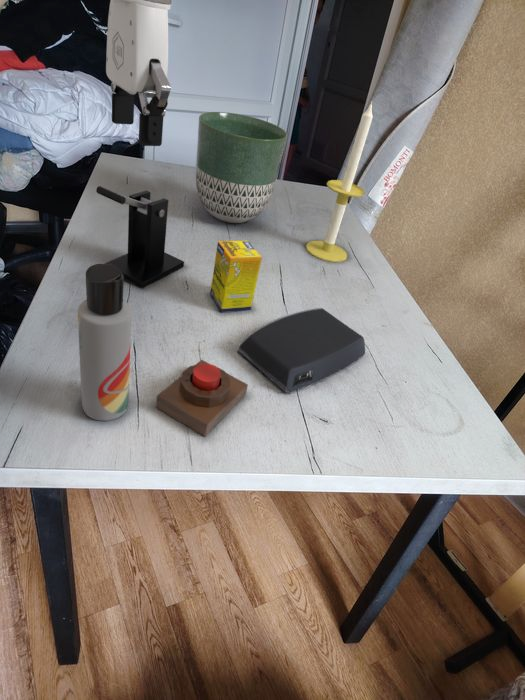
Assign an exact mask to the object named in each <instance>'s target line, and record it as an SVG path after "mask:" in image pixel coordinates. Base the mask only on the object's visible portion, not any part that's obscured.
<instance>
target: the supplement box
mask: <svg viewBox="0 0 525 700" xmlns="http://www.w3.org/2000/svg"><path fill="white" fill-rule="evenodd" d="M216 245H217V246H216V250H215V251H216V252H215V259H214V265H213V272H212V278H211V285H210V291H209V295H210V296H211V298H212V299H213V301H214V302H215V304H216V306H217V307H218V310H219V311H220V313H233V312H241V311H243V312H244V311H251V310H252V305H253V301H254V295H255V291H256V287H257V283H258V277H259V273H260V269H261V264H262V260H263V257H262V256H261V254H259V252H258V251H257V250H256V249H255V247H254V246H253V245H252V243H251V242H250V241H249V240H248V239H247V240H246V239H245V240H219V241H217V243H216Z"/></svg>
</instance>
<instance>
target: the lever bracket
mask: <svg viewBox="0 0 525 700" xmlns="http://www.w3.org/2000/svg"><path fill="white" fill-rule="evenodd" d="M128 197H129V198H132V199H135V200H137V201H140V200H141V197H142V198H145V199H148V200H150V201H151V191H149V190H147V189H145V190H143V191H140V192H136V193H133V194H130V195H128ZM137 209H138V207H135V206H132V205H129V204H128V225H127V226H128V227H127V233H128V234H127V253H126V254H123V255H121V256H118V257H116V258H114V259H112V260H110V261H107V262H105V263H104V264H112V265H115V266H117V267H118V268H119V269H120V271H121V272H122V273H123V275H124V281H126V282H128V283H131V284H133V285H134V286H136V287H138V288H140V289H141V290H142V289H144V288H146V287H149V286H150V285H153V284H154V283H157V282H158V281H160V280H161V279H162V280H163V278H165V277H167V276H169V275H171V274H173V273H175V272H177V271H178V270H181V269H182V268H185V260H182V259H180V258H178V257H176V256H173V255H171V254H169V253H167V252H165V251H166V250H165V249H166V239H167V238H166V237H167V224H168V211H169V210H168V209H169V199H167V198H165V197H164V198H161V199H157V200H154V201H153V202H151V203H148V205H147V215H146V214H143V213H141V212H139V211H137Z"/></svg>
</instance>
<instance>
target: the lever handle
mask: <svg viewBox="0 0 525 700" xmlns="http://www.w3.org/2000/svg"><path fill="white" fill-rule="evenodd" d="M95 191H96V193H97V194H98V195H101V196H103V197H104V198H107V199H109V200H111V201H113V202H116V203H118V204H120V205H124V204H125V205H128V206H129V205H132V206H135V207H138V209H137V211H139V212H141V213H143V214H146V215H147V205H148V203H151V202H154V201H152V200H151V199H150V200H148V199H145V198H142V197H141V200H140V201H137V200H135V199H132V198H129V196H125V195H122V194H120V193H117V192H115V191H113V190H110V189H108V188H106V187H104V186H101V185H98V186H97V187H96V190H95Z"/></svg>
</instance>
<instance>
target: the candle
mask: <svg viewBox="0 0 525 700" xmlns="http://www.w3.org/2000/svg"><path fill="white" fill-rule="evenodd" d="M373 119H374V115H373V101H371V103H370V104H369V105H368V107H367V109H366V110H365V112H364V113H362V115H361V118H360V122H359V125H358V127H357V132H356V135H355V139H354V142H353V146H352V148H351V152H350V155H349V159H348V162H347V165H346V169H345V172H344V174H343V175H344V176H343V178H342V180H340V179H331V180H328V181H327V182H326V187H327V188H328V189H329V190H331V191H332V192H334V193H337V195H336V200H335V202H334V205H333V209H332V213H331V216H330V220H329V223H328V226H327V230H326V233H325V237H324V240H311V241H309V242H307V244H306V245H305V249H306V251H307V252H308V253H309V254H310V255H311V256H313V257H315V258H317V259H319V260H323V261H325V262H331V263H340V262H344V261H346V260H347V259H348V254H347V251H346V250H345V249H344V248H342V247H341V246H339V245H337V244H335V243H336V240H337V237H338V233H339V231H340V227H341V225H342V224H341V223H342V220H343V218H344V214H345V211H346V208H347V204H348V201H349V200H350V199H349V198H350V197H352V198H361V197H363V196H365V193H366V191H365V190H364V189H363V188H362V187H360V186H359V185H357V184H354V183H353V182H354V179H355V176H356V173H357V169H358V167H359V163H360V160H361V157H362V154H363V150H364V147H365V144H366V141H367V138H368V135H369V131H370V127H371V125H372V121H373Z"/></svg>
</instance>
